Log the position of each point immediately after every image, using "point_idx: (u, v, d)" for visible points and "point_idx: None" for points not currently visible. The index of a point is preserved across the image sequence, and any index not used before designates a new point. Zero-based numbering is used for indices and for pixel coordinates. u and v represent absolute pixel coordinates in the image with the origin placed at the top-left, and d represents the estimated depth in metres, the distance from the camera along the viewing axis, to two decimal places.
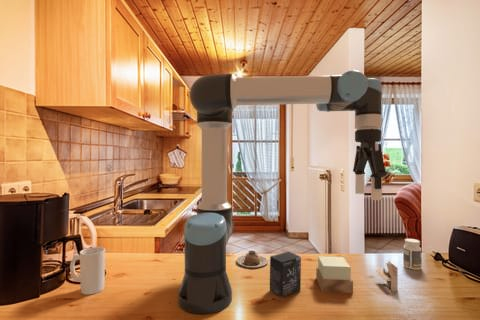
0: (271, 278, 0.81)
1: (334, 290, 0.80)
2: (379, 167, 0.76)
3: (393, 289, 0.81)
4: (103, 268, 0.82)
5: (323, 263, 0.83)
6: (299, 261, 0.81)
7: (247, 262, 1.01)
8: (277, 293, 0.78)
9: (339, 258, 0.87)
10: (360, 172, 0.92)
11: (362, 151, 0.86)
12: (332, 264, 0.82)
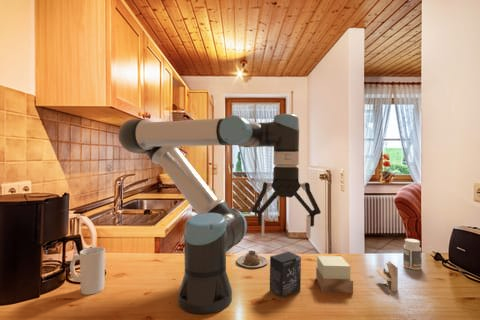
0: (271, 278, 0.81)
1: (334, 290, 0.80)
2: (254, 204, 0.82)
3: (393, 289, 0.81)
4: (103, 268, 0.82)
5: (323, 263, 0.83)
6: (299, 261, 0.81)
7: (247, 262, 1.01)
8: (277, 293, 0.78)
9: (338, 257, 0.88)
10: None
11: None
12: (332, 264, 0.82)
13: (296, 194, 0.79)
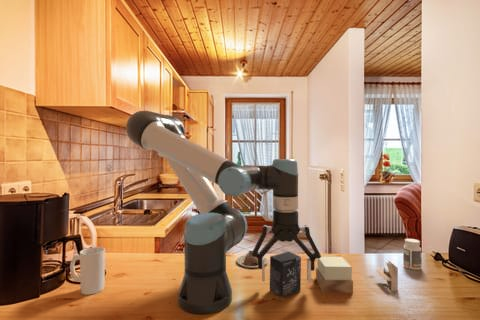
0: (271, 278, 0.81)
1: (334, 290, 0.80)
2: None
3: (393, 289, 0.82)
4: (103, 268, 0.82)
5: (324, 263, 0.82)
6: (299, 261, 0.81)
7: (247, 262, 1.01)
8: (277, 293, 0.78)
9: (338, 258, 0.87)
10: None
11: None
12: (333, 264, 0.82)
13: (296, 239, 0.79)
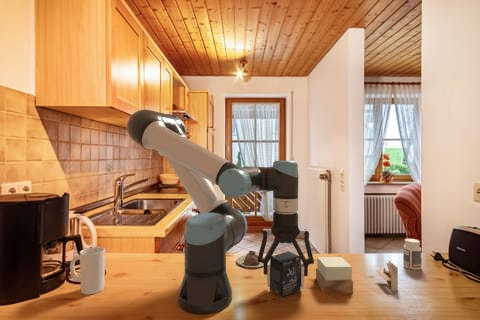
0: (271, 278, 0.81)
1: (334, 290, 0.80)
2: (259, 252, 0.82)
3: (393, 289, 0.82)
4: (103, 268, 0.82)
5: (324, 264, 0.82)
6: (299, 261, 0.81)
7: (247, 262, 1.01)
8: (277, 293, 0.78)
9: (338, 258, 0.87)
10: None
11: None
12: (333, 264, 0.82)
13: (294, 242, 0.79)
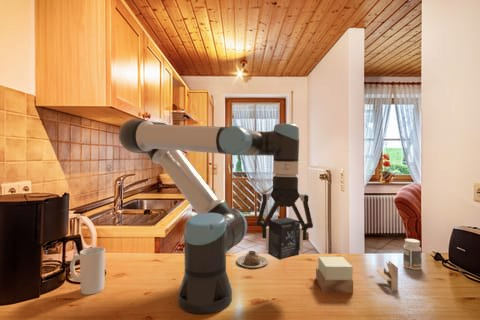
0: (270, 242, 0.81)
1: (334, 290, 0.80)
2: (258, 216, 0.82)
3: (393, 289, 0.82)
4: (103, 268, 0.82)
5: (325, 263, 0.82)
6: (298, 225, 0.81)
7: (247, 262, 1.01)
8: (275, 256, 0.78)
9: (339, 258, 0.87)
10: None
11: None
12: (334, 264, 0.82)
13: (293, 205, 0.79)
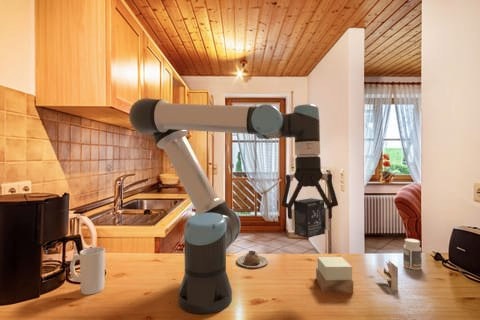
0: (295, 222, 0.82)
1: (334, 290, 0.80)
2: None
3: (393, 289, 0.82)
4: (103, 268, 0.82)
5: (324, 264, 0.82)
6: (323, 204, 0.81)
7: (247, 262, 1.01)
8: (302, 235, 0.79)
9: (338, 258, 0.87)
10: None
11: None
12: (333, 264, 0.82)
13: (317, 184, 0.80)
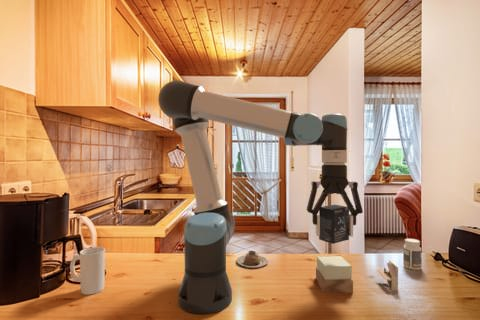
0: (321, 227, 0.84)
1: (334, 290, 0.81)
2: (308, 204, 0.86)
3: (393, 289, 0.82)
4: (103, 268, 0.82)
5: (324, 263, 0.83)
6: (348, 211, 0.84)
7: (247, 262, 1.01)
8: (328, 240, 0.82)
9: (338, 257, 0.88)
10: (352, 212, 0.84)
11: None
12: (333, 264, 0.82)
13: (343, 192, 0.83)
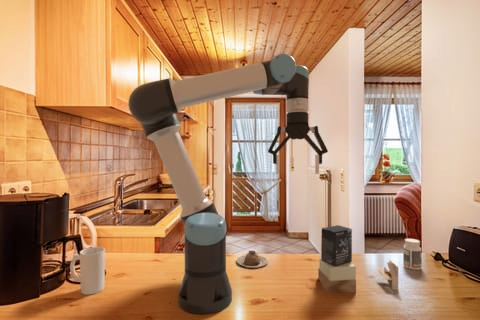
0: (323, 249, 0.84)
1: (337, 290, 0.81)
2: None
3: (394, 288, 0.82)
4: (103, 268, 0.82)
5: (328, 264, 0.82)
6: (350, 233, 0.84)
7: (247, 262, 1.01)
8: (330, 262, 0.82)
9: None
10: (318, 152, 0.92)
11: None
12: (337, 265, 0.82)
13: (306, 136, 0.91)
